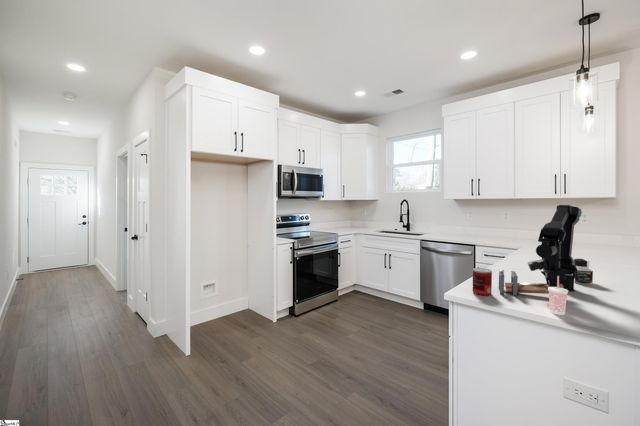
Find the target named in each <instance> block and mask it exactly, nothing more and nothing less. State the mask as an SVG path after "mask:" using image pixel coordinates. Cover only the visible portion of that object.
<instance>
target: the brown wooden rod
mask: <svg viewBox="0 0 640 426" xmlns="http://www.w3.org/2000/svg"><path fill="white" fill-rule="evenodd" d="M548 287H550V286H549V284H547V283H536V282H533V283H532V282H530V283H529V282H517V294H538V295H539V294H540V295H541V294H542V295H549V291H548ZM559 288H564V287H563V284H559ZM504 290H505V293H508V294H509V293H511V294H513V283H511V282H504Z"/></svg>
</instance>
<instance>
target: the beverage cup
mask: <svg viewBox="0 0 640 426" xmlns="http://www.w3.org/2000/svg"><path fill="white" fill-rule="evenodd" d="M548 291H549V294H548V302H549V303H548V307H549V313H552V314H553V315H554V314H555V315H560V316H562V315H563V316H564V315H566V306H567V298H568V294H569V290H567V289H564V288H559V276H557V287H548Z"/></svg>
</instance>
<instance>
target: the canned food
mask: <svg viewBox="0 0 640 426" xmlns="http://www.w3.org/2000/svg"><path fill="white" fill-rule="evenodd" d="M492 280H493V271H492V270H491V269H489V268H486V267H485V268H484V267H474V268H472V293H473V294H474V295H477V296H480V297H481V296H483V297H490V296H491V295H492V290H493V289H492V285H493V283H492V282H493V281H492Z"/></svg>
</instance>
